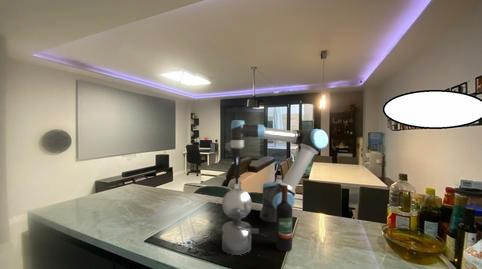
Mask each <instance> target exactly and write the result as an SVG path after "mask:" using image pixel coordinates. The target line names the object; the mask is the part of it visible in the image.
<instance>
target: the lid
mask: <svg viewBox="0 0 482 269" xmlns="http://www.w3.org/2000/svg"><path fill="white" fill-rule="evenodd" d="M221 206H222V210H223V212H224V214H225V215H226V216H227V217H228V218H229V219H232V221H242V219H244V218H247V216H248V215H249V214H250V212H251V211H252V206H253V204H252V198H251V196H250V194H249V193H248V192H247V191H246V190H244V189H241V188H239V189H234V188H233V189H231V190H229V191H227V192H226V193H225V195H224V196H223V198H222V204H221Z"/></svg>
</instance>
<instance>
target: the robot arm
mask: <svg viewBox="0 0 482 269" xmlns="http://www.w3.org/2000/svg"><path fill="white" fill-rule="evenodd" d="M245 138H253V139H255V138H256V139H263V140H270V141H277V142H279V141H280V142H285V143H286V142H287V143H290V144H291V145H297V146H300V149H299V151H298V153H297V155H296V157H295V159H294V160H293V162H292V164H291V166H290V167H289V169H288V171H287V173H286V174H285V175H284V178H283V179H282V181H280V182H275V181H274V182H273V181H272V182H271V181H270V182H263V185H262V207H261V210H260V212H259V218H260V220H262V221H264V222H267V223H276V212H277V205H278V204H279V203H281V201H282V185H287V186H288V193H287V201H288V203H289V204H290V205H291V207H292V208H293V207H294V205H295V196H296V194H297V193H296V188H297V186H298V185H299V183H300V181H301V179H302V178H303V176H304V174H305V172H306V171H307V168H308V166H309V165H310V163H311V161H312V160H313V158H314V156H315V155H318V154H319V153H320V151H321V150H323V149H325V148H326V147H327V145H328V144H329V136H328V134H327V133H326V132H325V131H324V130H323V129H318V128H315V129H292V130H288V129H287V130H286V129H279V128H272V127H265V125H264V124H259V123H256V124H253V123H249V124H248V123H245V120H243V119H241V120H239V119H236V120H235V119H234V120H231V126H230V141H229V143H230V147H231V148H230V155H232V156H234V157H233V166H234V176H233V180H234V186H233V187H234V188H233V189H240V178H241V175H240V166H241V159H242V157H240V156H243V155H245V148H244V147H245Z"/></svg>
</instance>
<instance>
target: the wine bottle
mask: <svg viewBox="0 0 482 269" xmlns="http://www.w3.org/2000/svg"><path fill="white" fill-rule="evenodd" d="M287 193H288V186H287V185H282V201H281V203H279V204H278V205H277V212H276V222H275V224H276V227H275V229H276V230H275V232H276V233H275V248H276V249H277V250H278V251H281V252H283V251H285V252H291V251H292V250H293V207H291V205H290V204H289V203H288V201H287ZM285 252H284V253H285Z"/></svg>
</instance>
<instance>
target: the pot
mask: <svg viewBox="0 0 482 269" xmlns="http://www.w3.org/2000/svg"><path fill="white" fill-rule="evenodd" d="M214 228H215V229H214V234H221V237H222V238H221V239H222V240H221V249H222V251H223V253H225V252H226V253H228V254H227V255H229V254H231V255H230V256H233V255H240V256H243V255H242V254H244V255H246V254H245V253H247V252H248V253H250V252H251V250H252V234H257V235H258V234H260V230H259V228H258V227H256V228H255V227H252V225H251V224H250V223H249V222H247V221H244V220H243V221H242V220H241V221H233V220H230V221H227V222H225V223H224V224H222V228H221V227H217V228H216V227H214ZM226 253H225V254H226ZM248 253H247V254H248Z"/></svg>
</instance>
